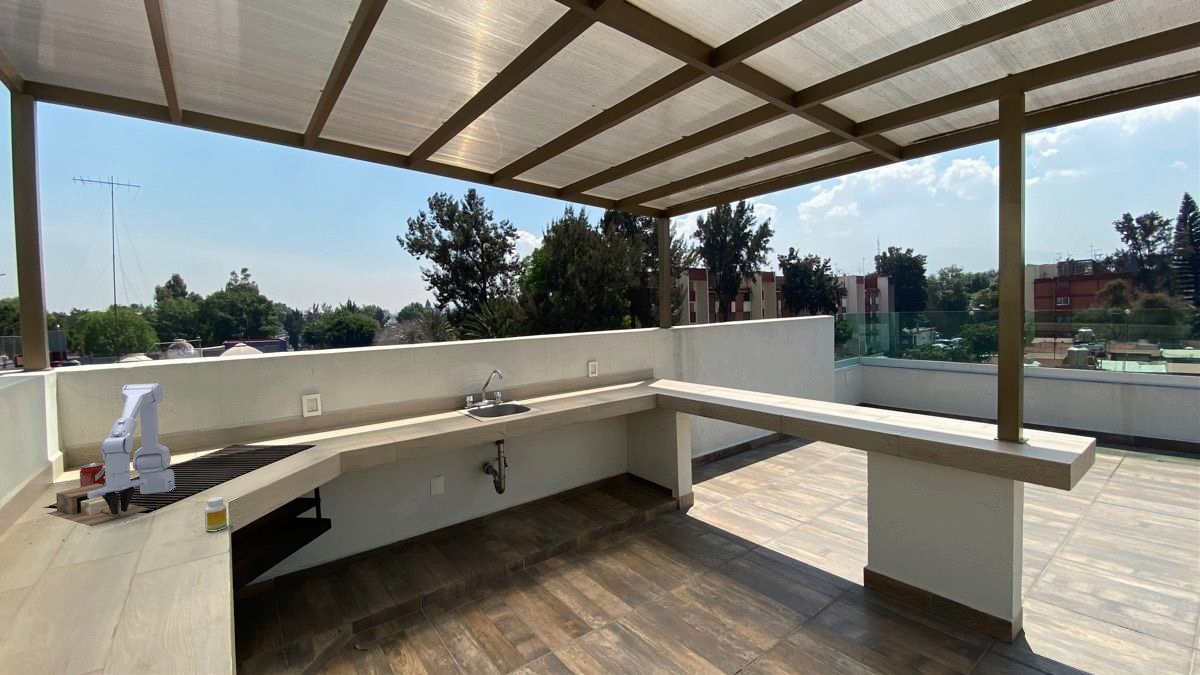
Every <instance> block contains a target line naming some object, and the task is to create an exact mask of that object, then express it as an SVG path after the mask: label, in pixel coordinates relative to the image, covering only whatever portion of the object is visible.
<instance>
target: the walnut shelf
mask: <svg viewBox="0 0 1200 675" xmlns="http://www.w3.org/2000/svg"><path fill="white" fill-rule="evenodd" d="M103 487H106V485H102V484H97V483H96V484H92V485H88V486H84V487H80V486H79V487H76V488H72V489H68V490H63V491H59V492H56V494H55V496H56V497H55V498H56V499H55V500H56V510H54V511H50V512H47V513H46V514H47V515H50V516H54V517H56V518H61V519H65V520H69V521H72V522H75V523H79V524H82V525H86V526H90V527H94V526H98V525H101V524H105V523H108V522H112V521H115V520H118V519H122V518H125V517H129V516H132V515H136V514H138V513H142V512H146V511H148V510H150V508H147V507H142V506H138V505H135V504H130V503H129V506H128V509H127V511H126V512H123V511H121V501H120V515H117V516H114V517H111V516H109V514H106V513H98V514H95V515H87V514H83V513H81V501H85V500H88V499H89V498H88V492H91V491H94V490H97V489H100V488H103ZM98 497H100V496H98ZM95 498H96V497H95Z"/></svg>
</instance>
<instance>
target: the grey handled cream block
mask: <svg viewBox="0 0 1200 675" xmlns="http://www.w3.org/2000/svg"><path fill="white" fill-rule="evenodd" d="M120 502H121V500H120V496H119V498H118V514H115V515H114V514H112V513H111V510H110V507H109V505H108V504H107V502H106V501H105V500H104V499H103V497H102V496H100V497H96V498H93V499H88V500H85V501H81V513H83V514H87V515H95V514H98V513H106V514H109V516H111V517H114V516H117V515H120Z"/></svg>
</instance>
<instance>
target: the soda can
mask: <svg viewBox="0 0 1200 675" xmlns="http://www.w3.org/2000/svg"><path fill="white" fill-rule="evenodd" d="M96 483H97V484H102V485H106V466H105V465H104V462H101V461H100V462H92V463H87V464H84V465H82V466H81V469H80V470H79V488H80V487H84V486H88V485H92V484H96Z"/></svg>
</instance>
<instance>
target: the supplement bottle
mask: <svg viewBox="0 0 1200 675" xmlns="http://www.w3.org/2000/svg"><path fill="white" fill-rule="evenodd" d="M206 503H207V506H206V507H205V508H204V525H205V527H204V529H206V530H219V531H222V530H224V529H225V528H227V526H228V525H227V524H228V519H227V505H226V504H225V503H224V497H223V496H217V497H216V496H214V497H212V498H209V499H207V502H206ZM221 529H222V530H221ZM206 530H205V531H206Z"/></svg>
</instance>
